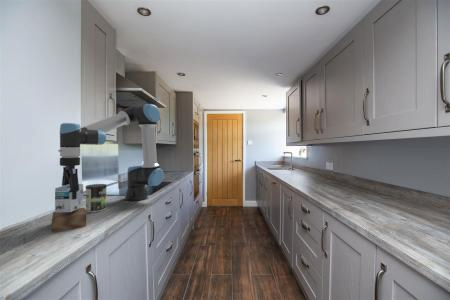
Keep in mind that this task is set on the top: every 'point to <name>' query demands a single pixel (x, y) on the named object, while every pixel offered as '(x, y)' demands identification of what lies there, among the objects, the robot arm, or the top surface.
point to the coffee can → (95, 197)
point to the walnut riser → (68, 220)
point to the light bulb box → (67, 199)
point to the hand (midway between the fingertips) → (69, 203)
